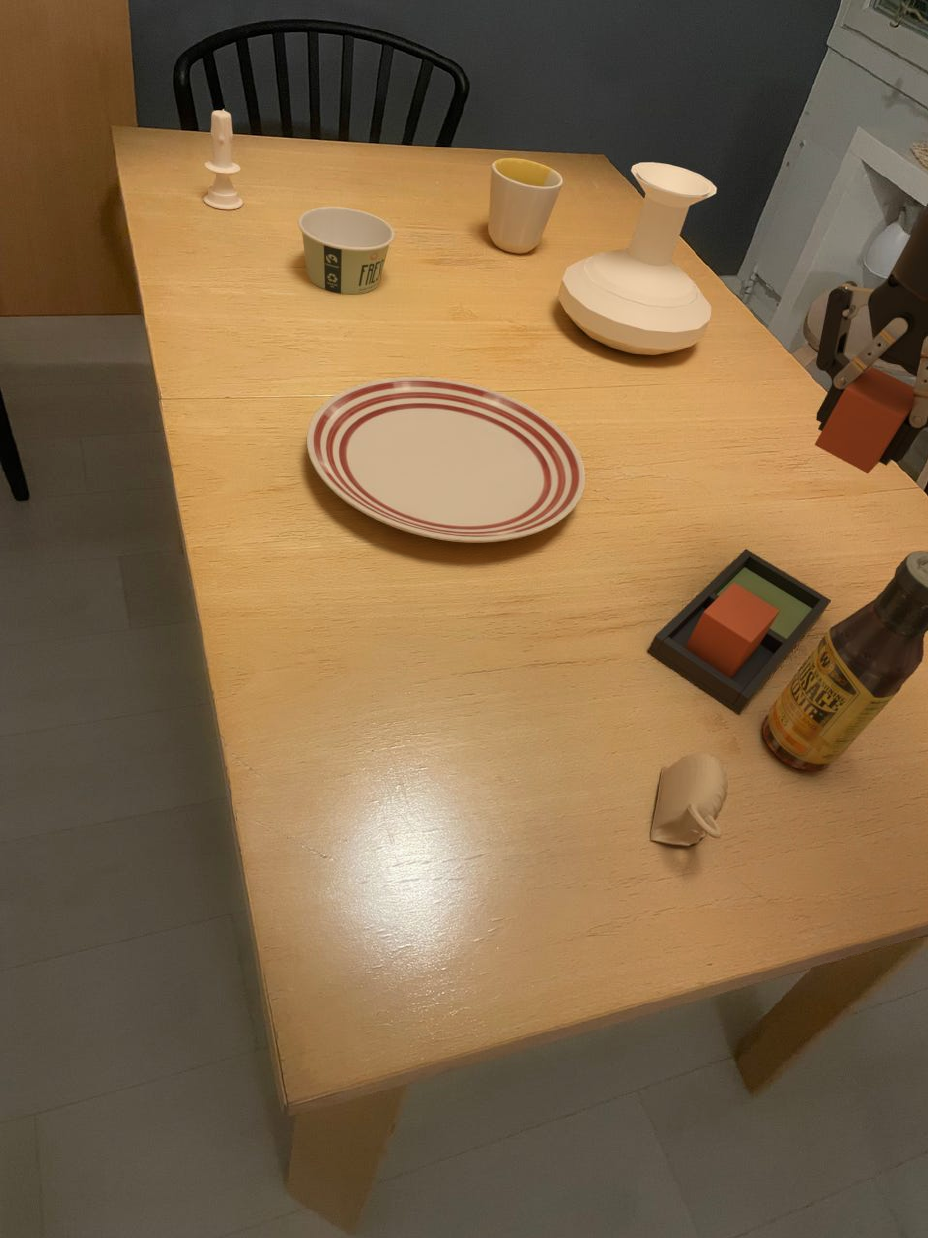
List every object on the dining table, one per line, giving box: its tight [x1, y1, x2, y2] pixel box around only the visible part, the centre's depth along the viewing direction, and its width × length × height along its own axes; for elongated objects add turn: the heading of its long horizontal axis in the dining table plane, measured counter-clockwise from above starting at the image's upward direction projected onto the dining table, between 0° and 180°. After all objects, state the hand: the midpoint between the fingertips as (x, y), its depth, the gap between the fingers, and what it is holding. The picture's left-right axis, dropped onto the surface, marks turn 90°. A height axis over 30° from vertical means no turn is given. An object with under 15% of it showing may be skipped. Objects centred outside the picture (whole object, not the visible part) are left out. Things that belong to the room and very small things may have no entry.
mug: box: [487, 157, 564, 255], centre depth 127 cm, size 14×10×10 cm
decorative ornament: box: [650, 752, 729, 847], centre depth 62 cm, size 4×8×5 cm, turn 161°
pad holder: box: [647, 548, 832, 715], centre depth 78 cm, size 9×17×2 cm, turn 140°
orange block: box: [814, 366, 914, 474], centre depth 66 cm, size 4×6×5 cm
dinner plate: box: [306, 376, 586, 544], centre depth 86 cm, size 27×27×3 cm
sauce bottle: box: [762, 550, 928, 772], centre depth 63 cm, size 7×6×20 cm
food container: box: [297, 206, 396, 295], centre depth 111 cm, size 12×12×6 cm
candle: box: [203, 108, 244, 211], centre depth 119 cm, size 5×5×12 cm
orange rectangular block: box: [685, 583, 779, 679], centre depth 74 cm, size 4×6×5 cm
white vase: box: [557, 161, 718, 356], centre depth 110 cm, size 20×20×19 cm
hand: (856, 443), depth 68 cm, fingers closed on orange block, 4 cm apart
